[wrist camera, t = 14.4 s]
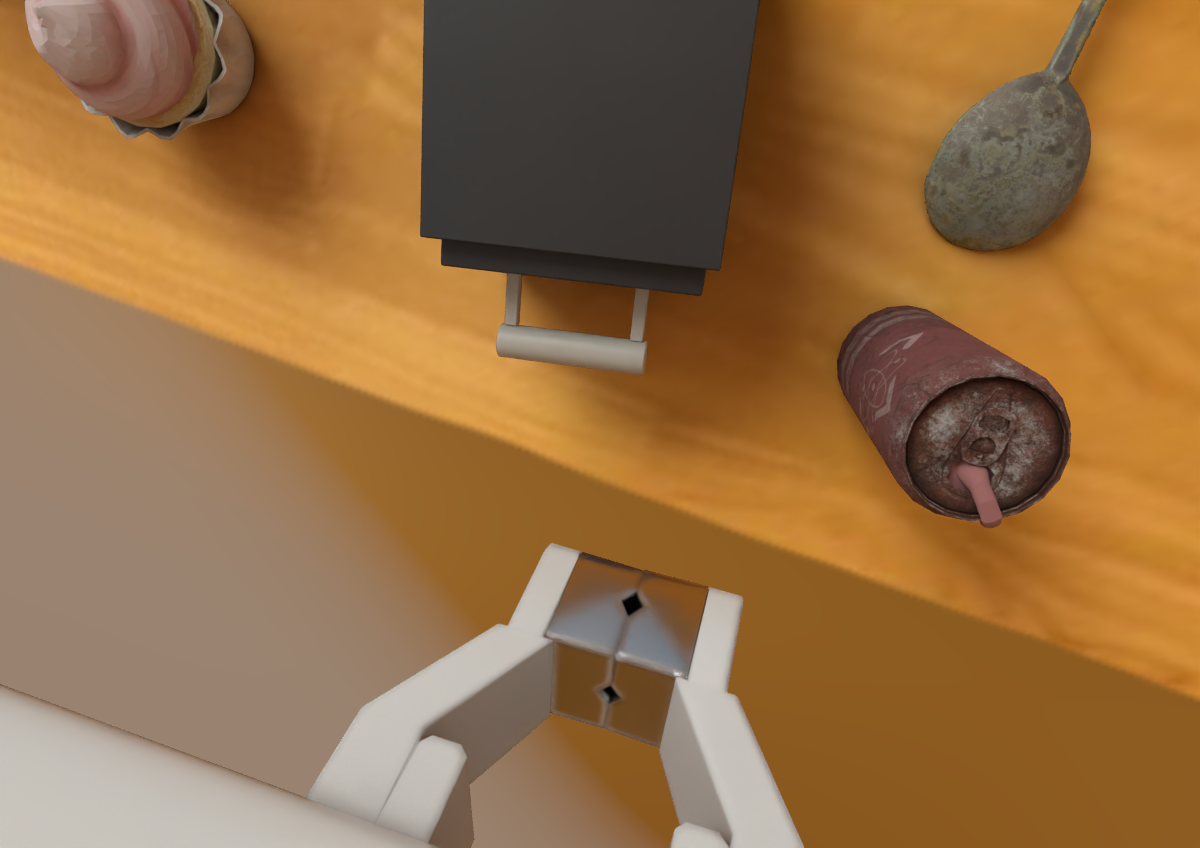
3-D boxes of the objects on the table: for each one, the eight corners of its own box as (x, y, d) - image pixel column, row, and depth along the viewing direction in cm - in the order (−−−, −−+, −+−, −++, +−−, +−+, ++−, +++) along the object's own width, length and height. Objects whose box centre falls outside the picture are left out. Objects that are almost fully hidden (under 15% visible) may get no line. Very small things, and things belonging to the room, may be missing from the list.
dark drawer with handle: (694, 356, 39) (687, 394, 32) (489, 330, 40) (437, 361, 33) (746, -20, 33) (754, -80, 26) (506, -37, 35) (449, -97, 27)
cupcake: (188, -89, 37) (8, -184, 28) (316, 60, 38) (185, 18, 29) (92, 49, 40) (-101, 4, 31) (214, 183, 41) (64, 180, 32)
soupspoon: (891, 220, 37) (1012, 266, 37) (909, 227, 34) (1041, 276, 34) (1155, -320, 29) (1310, -262, 29) (1211, -378, 26) (1384, -312, 26)
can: (858, 437, 40) (926, 558, 27) (819, 331, 39) (871, 403, 25) (973, 397, 38) (1105, 506, 25) (936, 285, 37) (1056, 338, 24)
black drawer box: (720, 252, 38) (720, 271, 29) (488, 226, 40) (419, 237, 31) (767, -71, 33) (784, -168, 24) (502, -86, 35) (426, -183, 26)
